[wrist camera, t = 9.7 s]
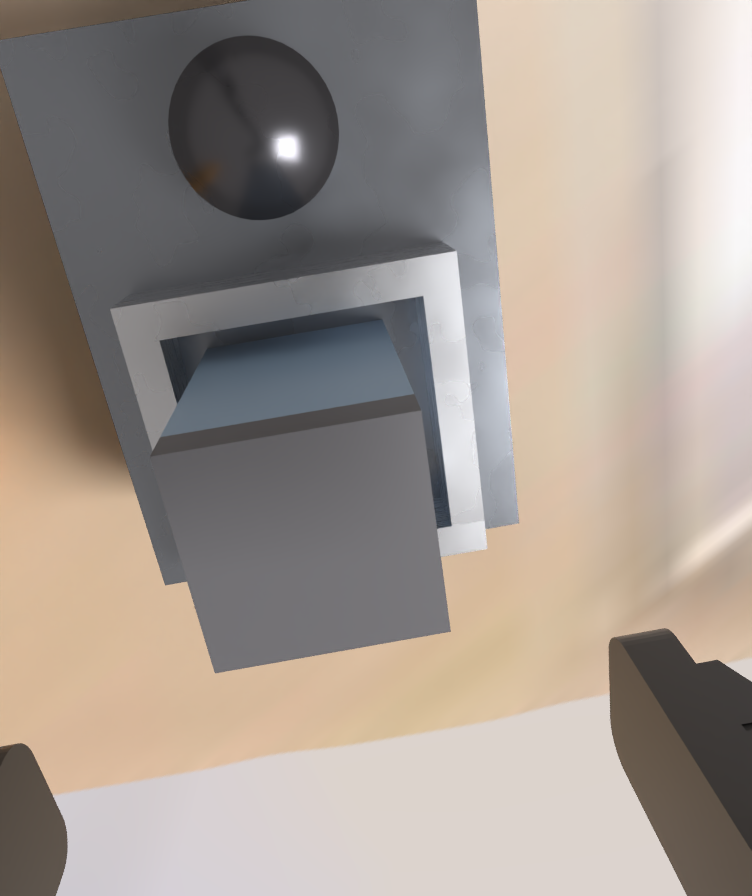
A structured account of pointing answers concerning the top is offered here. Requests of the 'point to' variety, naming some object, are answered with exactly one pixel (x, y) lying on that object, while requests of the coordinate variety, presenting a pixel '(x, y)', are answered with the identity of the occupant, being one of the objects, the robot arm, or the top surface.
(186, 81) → the grey boxy piece
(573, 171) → the top surface
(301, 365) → the grey lidded box
